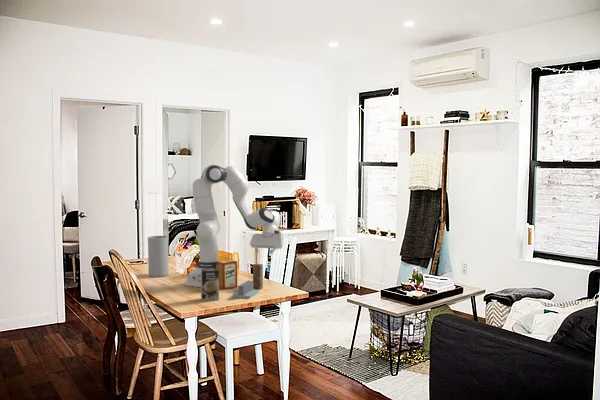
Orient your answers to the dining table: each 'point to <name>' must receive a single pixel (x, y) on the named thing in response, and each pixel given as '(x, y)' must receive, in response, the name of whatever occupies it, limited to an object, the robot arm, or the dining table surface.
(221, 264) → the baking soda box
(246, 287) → the rail
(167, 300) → the dining table surface
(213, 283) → the coffee box
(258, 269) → the oak post
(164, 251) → the cylinder vase
